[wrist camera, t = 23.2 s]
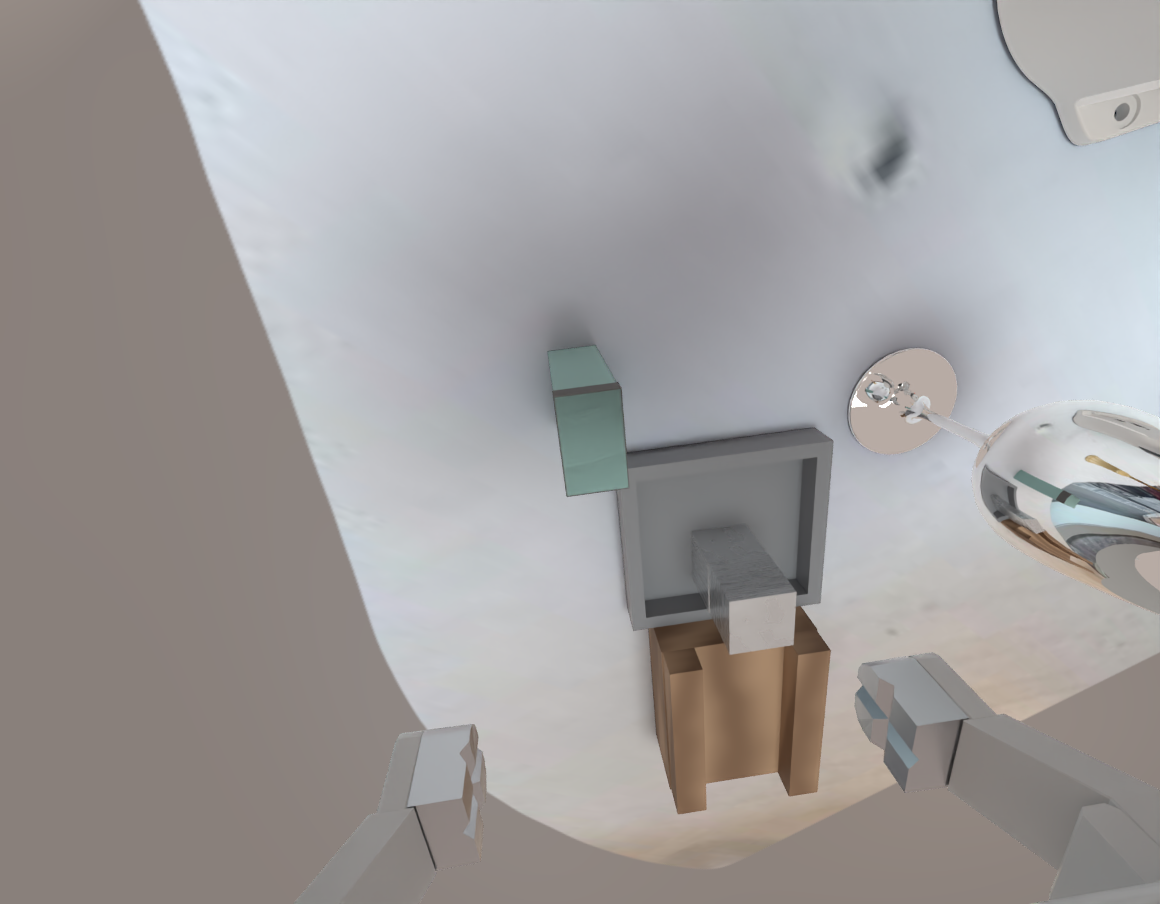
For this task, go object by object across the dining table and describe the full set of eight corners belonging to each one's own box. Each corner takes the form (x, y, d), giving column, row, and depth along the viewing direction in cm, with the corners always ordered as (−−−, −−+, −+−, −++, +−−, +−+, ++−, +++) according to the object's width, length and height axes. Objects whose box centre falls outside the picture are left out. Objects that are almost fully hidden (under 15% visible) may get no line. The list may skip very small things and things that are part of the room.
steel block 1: (744, 570, 40) (745, 524, 39) (766, 604, 37) (768, 555, 35) (692, 577, 40) (691, 531, 39) (708, 612, 36) (708, 563, 35)
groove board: (785, 585, 42) (832, 650, 35) (779, 715, 47) (818, 791, 41) (646, 605, 41) (668, 674, 35) (656, 734, 47) (676, 814, 40)
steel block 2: (768, 553, 35) (796, 591, 31) (767, 603, 37) (793, 645, 33) (708, 562, 35) (729, 601, 31) (709, 611, 36) (729, 654, 33)
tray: (814, 427, 37) (833, 440, 35) (804, 582, 42) (820, 603, 40) (613, 454, 36) (619, 470, 34) (627, 608, 41) (633, 630, 39)
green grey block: (546, 350, 33) (553, 396, 24) (596, 344, 33) (621, 387, 24) (556, 427, 35) (566, 496, 26) (603, 420, 35) (629, 488, 26)
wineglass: (908, 470, 39) (1248, 687, 20) (823, 429, 37) (1113, 627, 19) (979, 374, 36) (1438, 522, 18) (892, 325, 35) (1305, 434, 16)
